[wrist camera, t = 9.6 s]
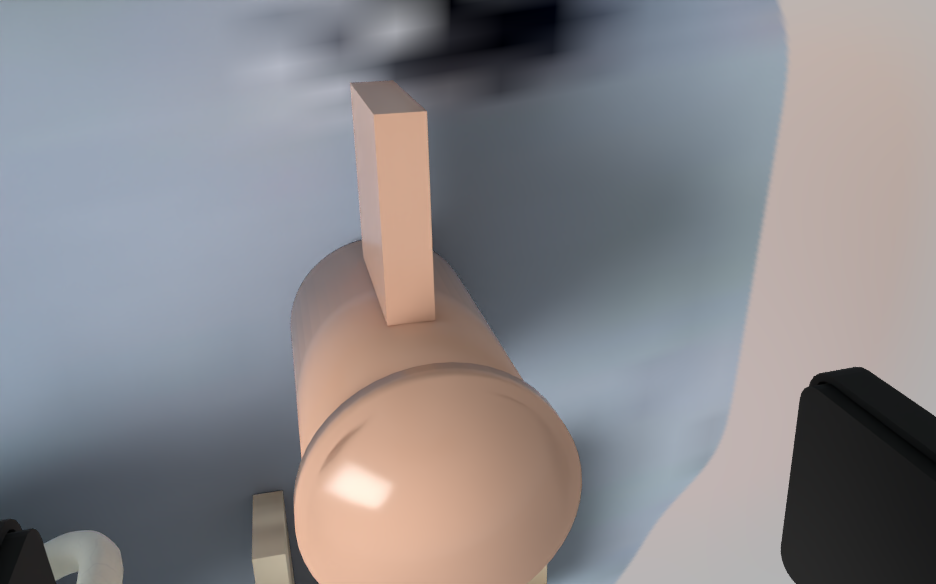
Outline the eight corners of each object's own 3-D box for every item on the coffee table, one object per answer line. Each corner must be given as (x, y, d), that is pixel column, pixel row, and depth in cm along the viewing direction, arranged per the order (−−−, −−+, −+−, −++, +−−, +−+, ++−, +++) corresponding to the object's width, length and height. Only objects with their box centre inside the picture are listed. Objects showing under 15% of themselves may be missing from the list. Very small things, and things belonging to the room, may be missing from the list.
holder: (252, 495, 34) (251, 559, 30) (519, 453, 36) (548, 509, 32) (274, 642, 37) (276, 717, 33) (518, 596, 39) (545, 661, 35)
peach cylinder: (252, 79, 28) (247, 157, 17) (470, 67, 29) (595, 132, 18) (293, 419, 33) (309, 646, 22) (477, 393, 34) (577, 594, 23)
